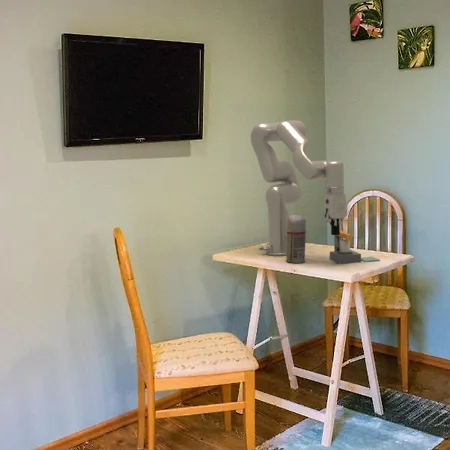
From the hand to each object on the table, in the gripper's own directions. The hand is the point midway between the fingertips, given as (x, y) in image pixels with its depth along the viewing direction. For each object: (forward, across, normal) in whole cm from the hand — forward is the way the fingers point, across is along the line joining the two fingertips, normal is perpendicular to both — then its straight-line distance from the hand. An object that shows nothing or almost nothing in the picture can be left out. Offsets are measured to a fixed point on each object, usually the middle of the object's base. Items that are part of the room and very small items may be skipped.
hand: (335, 234), depth 278 cm
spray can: (+12, -8, +15) cm, 21 cm away
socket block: (+12, +7, 0) cm, 14 cm away
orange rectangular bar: (+3, +8, +3) cm, 9 cm away
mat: (+12, +15, -6) cm, 20 cm away
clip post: (+12, +10, +8) cm, 18 cm away
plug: (+12, +7, 0) cm, 14 cm away
